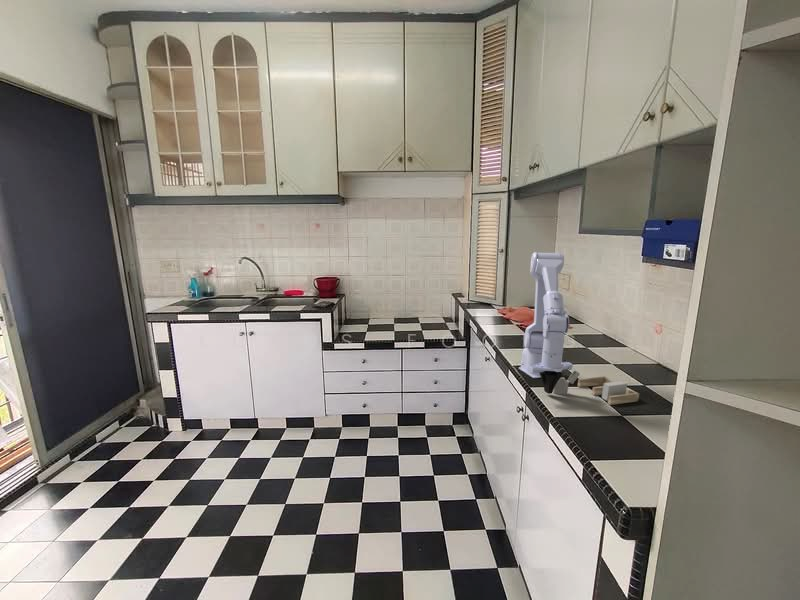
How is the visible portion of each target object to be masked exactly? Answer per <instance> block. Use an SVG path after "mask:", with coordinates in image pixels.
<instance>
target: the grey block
mask: <svg viewBox="0 0 800 600" xmlns="http://www.w3.org/2000/svg"><path fill="white" fill-rule="evenodd" d="M602 386H603V392H602V395H601V399H602V400H605V401H607V402H608V397H609V396H614V395H622V394H626V389H627V388H628V383H626V382H625V381H622V380H618V381H615V382H610V383H604V384H602Z"/></svg>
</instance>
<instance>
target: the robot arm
mask: <svg viewBox="0 0 800 600" xmlns="http://www.w3.org/2000/svg"><path fill="white" fill-rule="evenodd" d="M564 264H565V256H564V254H563V253H562V252H537V251H534V252H533V253H532V254H531V257H530V266H529V267H530V269H529V270H530V271H529V272H530V276H531V277H533V278H534V280H535V295H534V316H533V323H531V324H530V325H528V326H527V327H526V328H525V332H524V337H523V344H524V349H523V350H522V352H521V359H520V360H521V363H520V366H519V367H518V370H520V371H522V372H523V373H525V374H526V375H528V376H529V377H531V378H532V379H539V378H541V381H542V384H543V389H544V392H545V393H547V394H548V395H550V394H552V393H553V389H554V387H555V385H556V383H557V382H558V380H559V379H560V378H561V377H563V372H562V371H563V370H564V371H565V370H568V371H572V370H573V367H574V366H573V365H574V364H573V363H571V362H569V361H562V360H563V353H564V343H565V336H566V334H567V333H568V331H569V328H570V317H569V314H567V313H568V312H567V311H565V306H564V305H565V303H564V297H563V294H562V293H560V292H559V274H561V271H562V270H563V268H564Z"/></svg>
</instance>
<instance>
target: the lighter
mask: <svg viewBox="0 0 800 600" xmlns="http://www.w3.org/2000/svg"><path fill="white" fill-rule="evenodd" d="M580 374H581V373H580V372H579V371H577V370H576V369H574V370H573V371H572V373H570V376H569V377H568V378H567V379H566V378H565V377H563V376H562V377H561V378H560V379H559V380H558V382H557V383H556V385H555V387H554V389H553V392H552V393H553V394H555V395H562V396H563V395H565V396H566V395H567V396H568V392H569V384H571V385H573V384H574V383H575V382H576V381H577V379H579V378H578V377H579V376H580Z"/></svg>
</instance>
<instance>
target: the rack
mask: <svg viewBox="0 0 800 600" xmlns="http://www.w3.org/2000/svg"><path fill="white" fill-rule="evenodd" d="M577 379H578V380H577V387H578V388H585V387H592V386H593V387H592V390H591V396H602V392H603V385H604V383H610V382H616V381H615V380H612V379H611V378H609V377H606V376H603V375H602V376H595V377H588V378H577ZM601 385H602V386H601ZM639 398H640V393H639V392H637V391H635V390H632V389H631V388H629V387H627V389H626V394H622V395H614V396H609V397H608V401H607V405H608V406H611V405H612V406H614V405H621V404H626V403H627V404H628V403H634V402H638V401H639Z"/></svg>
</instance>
